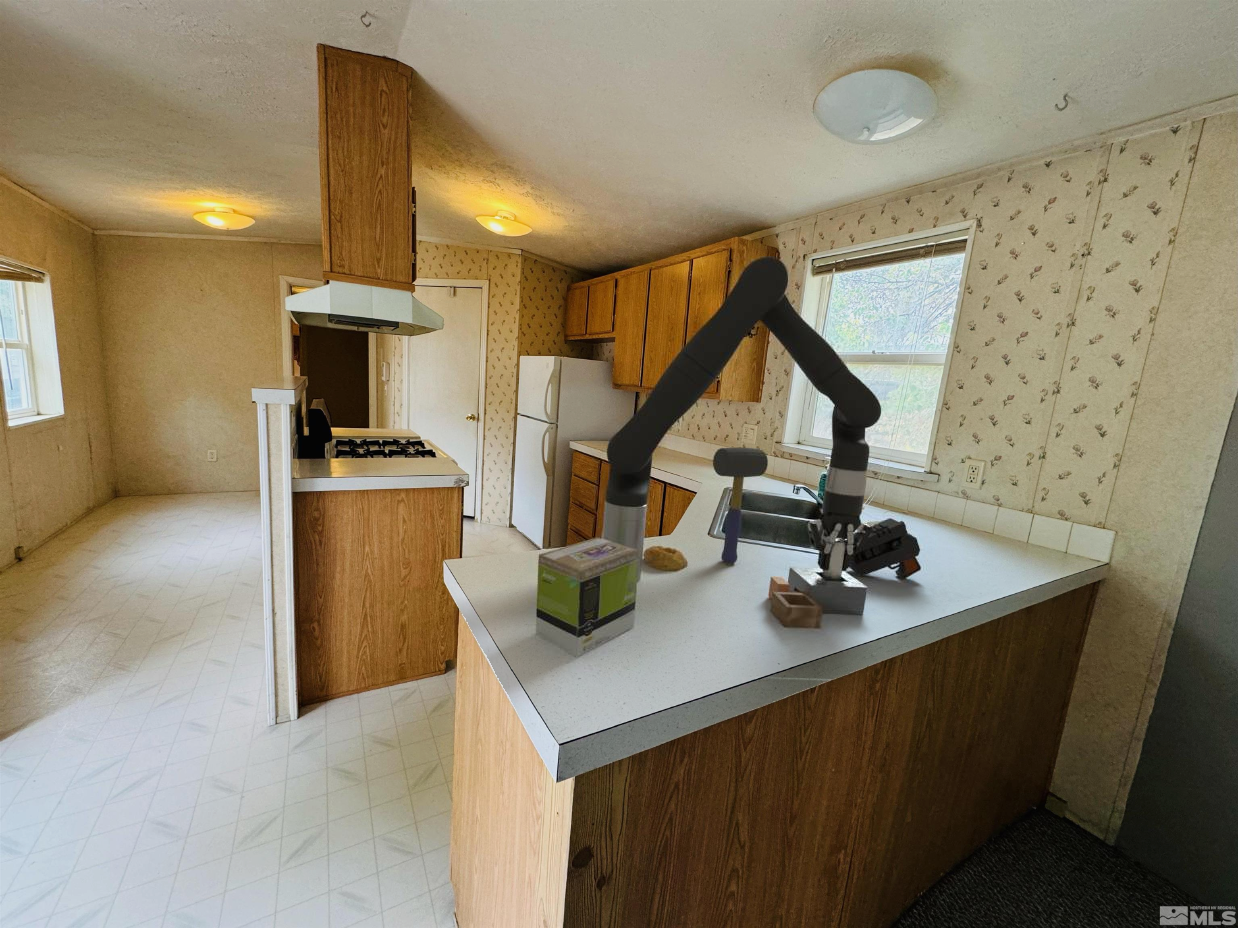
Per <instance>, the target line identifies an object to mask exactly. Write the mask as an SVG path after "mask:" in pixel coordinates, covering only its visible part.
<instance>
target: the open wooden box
mask: <svg viewBox="0 0 1238 928" xmlns="http://www.w3.org/2000/svg"><path fill="white" fill-rule="evenodd" d="M770 600H771V602H770V608H769V609H770V612H771V613H772V614H773V616H774V617H775V618H776V619H777V620H778V621H779V623H780V624H781V625H782V626H783V627H784V628H798V629H799V628H800V629H801V628H803V629H820V628H821V623H822V618H823V614H822V611H823V608H822V607H821V606H820V605H818V604H817V603H816V602H815V601H814V600H813V599H812V598H811V597H810V596H809V595H808V594H806V593H792V592H773V593H772V599H770Z"/></svg>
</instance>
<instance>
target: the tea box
mask: <svg viewBox="0 0 1238 928" xmlns="http://www.w3.org/2000/svg"><path fill="white" fill-rule="evenodd" d="M638 553H639V550H637V549H634V548H630V547H627V546H624V545H620V544H617V543H614V542H611V541H608V540H604V539H601V538H600V536H598V537H594V538H593V537H592V538H590V539H587V540H583V541H579V542H577V543H573V544H570V545H566V546H563V547H560V548H557V549H553V550H549V551H547V552H544V553H543V552H542V553H539V554H538V562H537V564H538V566H537V585H536V586H537V587H536V589H537V591H536V592H537V593H536V613H535V615H536V616H535V617H536V618H535V636H537V637H539V638H541V639H543V640H544V641H547V642H548V643H550V644H551V645H553V646H555V647H557V648H558V649H560V650H563V651H564V652H565V653H567V654H570V655H571V656H573V657H574V658H579V657H580V656H582V655H584V654H586V653H588V652H589V651H591V650H593V649H595V648H597V647H599V646H601V645H603V644H605V643H606V642H608V641H610V640H612V639H613V638H615V637H618V636H620V635H621V634H624V633H625V632H627V631H629V630H630V629H632V628H634V627H635V617H636V599H637V584H638V582H637V571H638Z"/></svg>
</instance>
